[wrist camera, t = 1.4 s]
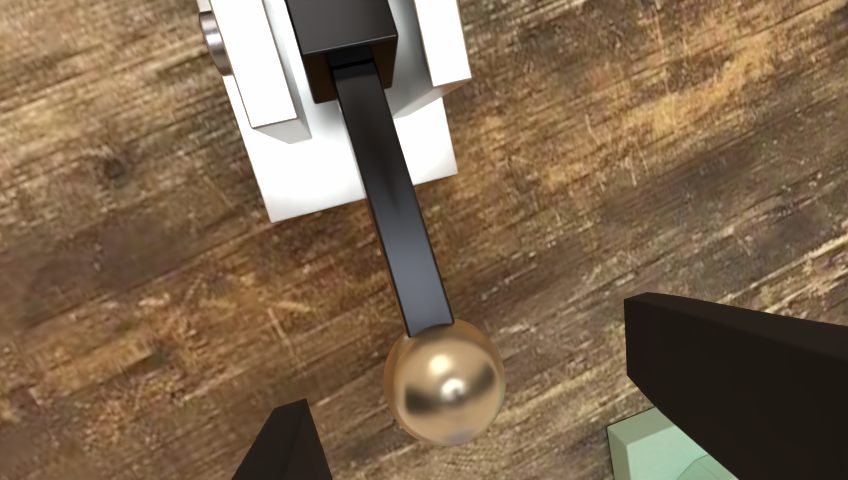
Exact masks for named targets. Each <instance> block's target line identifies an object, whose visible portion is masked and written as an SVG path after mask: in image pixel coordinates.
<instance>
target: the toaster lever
mask: <svg viewBox="0 0 848 480" xmlns="http://www.w3.org/2000/svg"><path fill="white" fill-rule="evenodd" d="M284 2H285V6H286V9H287V13H288V16H289V20H290V23H291V27H292V30H293V34H294V37H295V41H296V44H297V47H298V51H299V54H300V58H301V61H302V65H303V68H304V71H305V75H306V78H307V82H308V85H309V89H310V92H311V96H312V99H313V102H314V103H315V104H321V103H325V102H330V101H334V100H336V102H337V105H338V109H339V112H340V115H341V119H342V122H343V126H344V129H345V132H346V136H347V139H348V143H349V146H350V149H351V153H352V156H353V160H354V163H355V166H356V170H357V173H358V177H359V180H360V183H361V187H362V190H363V193H364V197H365V200H366V204H367V207H368V210H369V214H370V217H371V221H372V224H373V227H374V231H375V234H376V238H377V241H378V244H379V248H380V251H381V255H382V258H383V261H384V265H385V268H386V271H387V275H388V278H389V282H390V285H391V288H392V292H393V295H394V299H395V302H396V305H397V309H398V312H399V316H400V319H401V322H402V326H403V329H404V333H403V334H402V335H401V336H400V337H399V339H398V340H397V341H396V342H395V344H394V346H393V347H392V349H391V351H390V353H389V355H388V358H387V361H386V364H385V370H384V381H383V384H384V393H385V397H386V401H387V404H388V406H389V409H390V411H391V413H392V415H393V416H394V418H395V419H396V421H397V422H398V424H399V425H400V426H401V427H402V428H403V429H404V430H405V431H407V432H408V433H409V434H410V435H412V436H413V437H415V438H416V439H418V440H420V441H422V442H425V443H427V444H431V445H436V446H455V445H460V444H464V443H467V442H469V441H471V440H473V439H475V438H476V437H478V436H479V435H481V434H482V433H483V432H484V431H486V430H487V429H488V427H489V426H490V425H491V424H492V423H493V421H494V420H495V419H496V417H497V415H498V413H499V411H500V409H501V406H502V404H503V400H504V396H505V389H506V378H505V370H504V366H503V362H502V359H501V357H500V354H499V352H498V351H497V349H496V347H495V345H494V344H493V343H492V341H491V340H490V339H489V338H488V337H487V335H486V334H484V333H483V332H482V331H481V330H480V329H478V328H477V327H475V326H473V325H472V324H470V323H468V322H466V321H463V320H460V319H456V318H453V314H452V311H451V308H450V305H449V301H448V298H447V295H446V291H445V288H444V285H443V282H442V278H441V275H440V272H439V268H438V265H437V262H436V259H435V255H434V252H433V249H432V245H431V242H430V239H429V236H428V232H427V229H426V226H425V222H424V219H423V216H422V213H421V209H420V206H419V203H418V199H417V196H416V193H415V190H414V186H413V183H412V180H411V176H410V173H409V170H408V167H407V163H406V160H405V157H404V153H403V150H402V147H401V144H400V140H399V137H398V134H397V130H396V127H395V124H394V121H393V117H392V114H391V111H390V107H389V104H388V101H387V98H386V94H385V91H384V89H389V88H391V87H392V84H393V76H394V69H395V61H396V54H397V46H398V38H399V34H398V31H397V28H396V24H395V21H394V18H393V15H392V12H391V8H390V5H389V2H388V0H284Z"/></svg>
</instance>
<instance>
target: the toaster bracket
mask: <svg viewBox="0 0 848 480" xmlns="http://www.w3.org/2000/svg"><path fill="white" fill-rule="evenodd" d="M196 2H197V5H198V8H199V11H200V13H199V22H200V27H201V30H202V34H203V37H204V40H205V43H206V45H207V48H208V50H209V53H210V55H211V57H212V59H213V62H214V64H215V66H216V67H217V69H218V71H219V72H220V74H221V77H222V80H223V83H224V86H225V89H226V92H227V95H228V98H229V101H230V104H231V107H232V109H233V112H234V115H235V118H236V121H237V124H238V127H239V130H240V133H241V136H242V139H243V142H244V145H245V148H246V151H247V154H248V157H249V160H250V163H251V166H252V169H253V172H254V175H255V178H256V181H257V184H258V187H259V190H260V193H261V196H262V199H263V202H264V205H265V208H266V211H267V214H268V217H269V219H270V222H271V223H276V222H280V221H283V220H287V219H291V218H295V217H298V216H302V215H306V214H310V213H313V212H317V211H321V210H325V209H329V208H332V207H336V206H340V205H344V204H347V203H351V202H355V201H359V200H362V199H365V197H364V193H363V190H362V187H361V183H360V180H359V177H358V173H357V170H356V166H355V163H354V160H353V156H352V153H351V149H350V146H349V143H348V139H347V136H346V132H345V129H344V126H343V122H342V119H341V115H340V112H339V109H338V105H337V102H336V100H334V101H330V102H325V103H321V104H315V103H314V102H313V99H312V96H311V92H310V89H309V85H308V82H307V78H306V75H305V71H304V68H303V65H302V61H301V58H300V54H299V51H298V47H297V44H296V41H295V37H294V34H293V30H292V27H291V23H290V20H289V16H288V13H287V9H286V6H285V2H284V0H196ZM388 2H389V5H390V8H391V12H392V15H393V18H394V21H395V24H396V28H397V31H398V34H399V38H398V46H397V54H396V61H395V69H394V76H393V84H392V87H391V88H389V89H384V91H385V94H386V98H387V101H388V104H389V107H390V111H391V114H392V117H393V121H394V124H395V127H396V130H397V134H398V137H399V140H400V144H401V147H402V150H403V153H404V157H405V160H406V163H407V167H408V170H409V173H410V176H411V180H412V183H413V186H415V185H419V184H423V183H427V182H430V181H434V180H438V179H442V178H445V177H449V176H453V175H457V174H458V168H457V163H456V159H455V154H454V150H453V145H452V140H451V136H450V131H449V126H448V122H447V117H446V112H445V108H444V103H443V99H442V97H443V96H444V95H446V94H448V93H450V92H451V91H453V90H455V89H457V88H458V87H460V86H462V85H464V84H465V83H467V82H469V81H471V80H472V72H471V67H470V62H469V57H468V52H467V47H466V42H465V37H464V32H463V26H462V21H461V16H460V0H388Z"/></svg>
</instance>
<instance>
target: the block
mask: <svg viewBox="0 0 848 480" xmlns="http://www.w3.org/2000/svg"><path fill="white" fill-rule="evenodd" d="M607 432H608V438H609V445H610V452H611V458H612V465H613V471H614V478H615V480H738V479H737V478H736V477H735V476H734V475H732V474H731V473H730V472H729V471H728V470H727V469H725V468H724V467H723V466H722V465H721V464H720V463H718V462H717V461H716V460H715V459H714V458H713V457H711V456H710V455H709V454H708V453H707V452H706V451H704V450H703V449H702V448H701V447H700V446H699V445H697V444H696V443H695V442H694V441H693V440H692V439H691V438H689V437H688V436H687V435H686V434H685V433H684V432H683V431H681V430H680V429H679V428H678V427H677V426H676V425H675V424H673V423H672V422H671V421H670V420H669V419H668V418H667V417H666V416H664V415H663V414H662V413H661V412H660V411H659V410H658V409H657V408H656V407H655V408H652V409H650V410H647V411H645V412H642V413H640V414H638V415H635V416H633V417H630V418H628V419H625V420H623V421H620V422H618V423H615V424H613V425H610V426H608V427H607Z"/></svg>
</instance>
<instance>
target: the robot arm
mask: <svg viewBox="0 0 848 480" xmlns="http://www.w3.org/2000/svg"><path fill="white" fill-rule="evenodd" d="M624 315H625V338H626V361H627V376H628V377H629V378H630V379H631V380H632V381H633V382H634V384H635V385H636V386H637V387H638V388H639V389H640V390H641V392H642V393H643V394H644V395H645V396H646V397H647V398H648V399H649V400H650V401H651V402H652V404H653V405H654V406H655V407H656V408H657V409H658V410H659V411H660V412H661V413H662V414H663V415H664V416H666V417H667V418H668V419H669V420H670V421H671V422H672V423H673V424H675V425H676V426H677V427H678V428H679V429H680V430H681V431H683V432H684V433H685V434H686V435H687V436H688V437H689V438H691V439H692V440H693V441H694V442H695V443H696V444H697V445H699V446H700V447H701V448H702V449H703V450H704V451H706V452H707V453H708V454H709V455H710V456H711V457H713V458H714V459H715V460H716V461H717V462H718V463H720V464H721V465H722V466H723V467H724V468H725V469H727V470H728V471H729V472H730V473H731V474H732V475H734V476H735V477H736V478H737V479H738V480H848V326H843V325H836V324H830V323H824V322H817V321H811V320H805V319H799V318H794V317H788V316H782V315H777V314H771V313H766V312H760V311H755V310H750V309H745V308H739V307H734V306H729V305H724V304H719V303H713V302H708V301H703V300H697V299H692V298H686V297H680V296H674V295H668V294H660V293H650V292H646V293H643V294H640V295H636V296H633V297H630V298H627V299H624ZM231 480H332V476H331V473H330V470H329V467H328V463H327V460H326V457H325V454H324V451H323V448H322V445H321V442H320V439H319V436H318V433H317V430H316V427H315V424H314V421H313V418H312V415H311V412H310V409H309V406H308V403H307V400H306V399H302V400H299V401H296V402H293V403H290V404H286V405H283V406H280V407H277V408H274V410H273V411H272V413H271V415H270V416H269V418H268V419H267V421H266V423H265V424H264V426H263V428H262V429H261V431H260V433H259V434H258V436H257V438H256V439H255V441H254V443H253V444H252V446H251V448H250V449H249V451H248V453H247V454H246V456H245V458H244V459H243V461H242V463H241V464H240V466H239V468H238V469H237V471H236V473H235V474H234V476H233V477H232V479H231Z"/></svg>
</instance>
